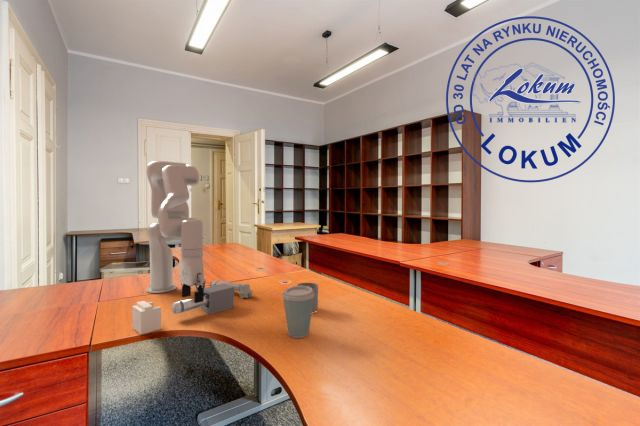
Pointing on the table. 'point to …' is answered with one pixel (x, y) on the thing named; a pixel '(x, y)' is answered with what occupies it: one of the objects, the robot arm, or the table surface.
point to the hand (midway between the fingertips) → (192, 299)
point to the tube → (189, 305)
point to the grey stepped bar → (236, 288)
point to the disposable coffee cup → (298, 309)
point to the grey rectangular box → (219, 298)
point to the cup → (315, 290)
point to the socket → (146, 317)
